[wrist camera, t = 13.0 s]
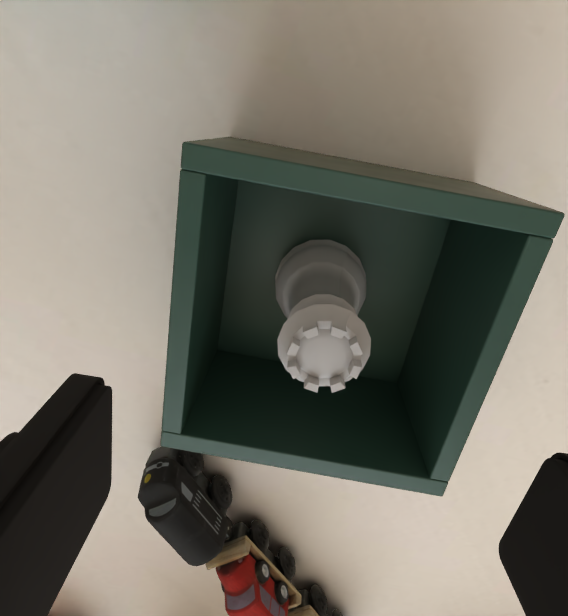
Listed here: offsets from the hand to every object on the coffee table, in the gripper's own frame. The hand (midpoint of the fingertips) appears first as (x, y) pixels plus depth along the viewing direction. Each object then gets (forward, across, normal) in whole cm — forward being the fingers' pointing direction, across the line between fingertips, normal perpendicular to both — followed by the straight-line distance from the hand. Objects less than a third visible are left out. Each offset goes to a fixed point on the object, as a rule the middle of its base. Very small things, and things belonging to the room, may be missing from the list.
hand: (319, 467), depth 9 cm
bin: (+14, -1, 0) cm, 14 cm away
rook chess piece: (+13, -1, 0) cm, 13 cm away
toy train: (+14, -1, +21) cm, 25 cm away
